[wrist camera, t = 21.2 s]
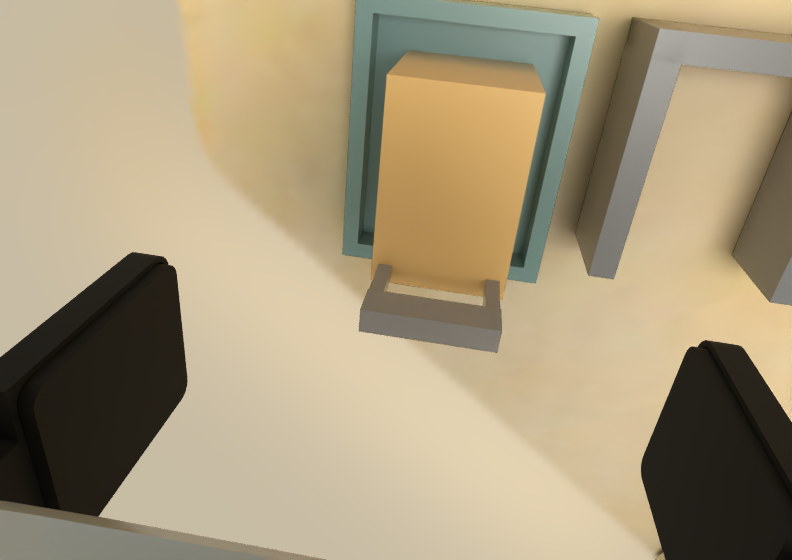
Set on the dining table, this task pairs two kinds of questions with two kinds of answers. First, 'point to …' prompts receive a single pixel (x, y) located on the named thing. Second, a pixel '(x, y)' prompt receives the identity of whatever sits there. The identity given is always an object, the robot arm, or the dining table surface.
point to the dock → (639, 130)
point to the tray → (473, 37)
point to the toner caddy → (450, 194)
